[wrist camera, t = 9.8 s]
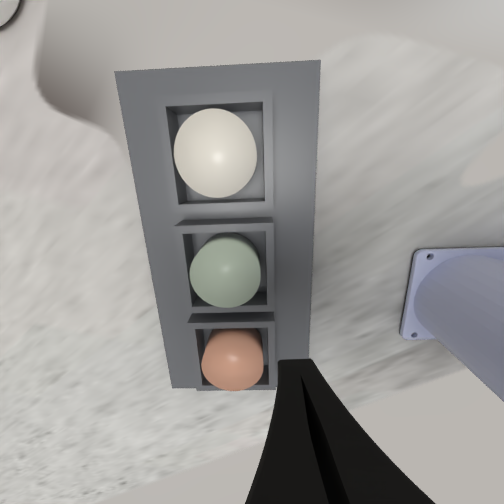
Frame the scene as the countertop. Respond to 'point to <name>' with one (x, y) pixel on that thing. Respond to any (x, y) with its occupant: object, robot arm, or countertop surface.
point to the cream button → (215, 153)
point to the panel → (228, 204)
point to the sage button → (226, 270)
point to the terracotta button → (233, 358)
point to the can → (8, 10)
